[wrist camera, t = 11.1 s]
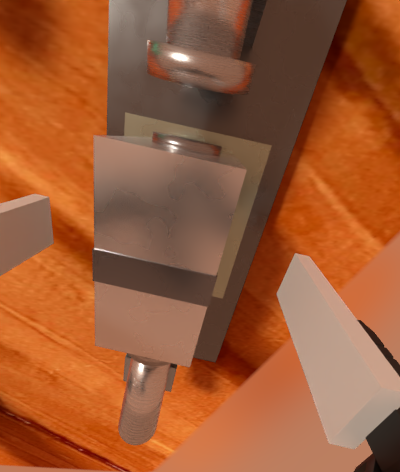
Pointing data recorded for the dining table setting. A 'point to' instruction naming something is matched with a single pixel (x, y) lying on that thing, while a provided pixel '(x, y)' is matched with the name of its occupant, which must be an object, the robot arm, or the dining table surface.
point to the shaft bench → (214, 126)
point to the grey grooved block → (159, 240)
